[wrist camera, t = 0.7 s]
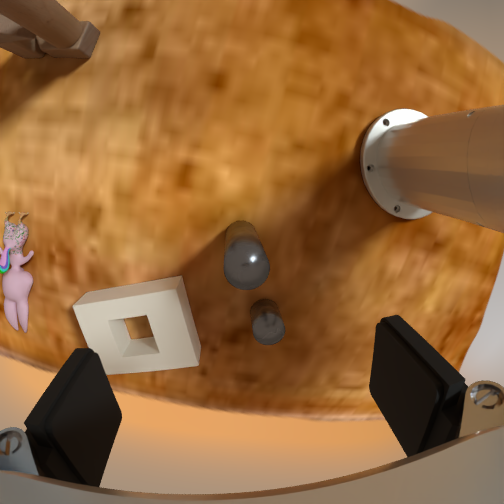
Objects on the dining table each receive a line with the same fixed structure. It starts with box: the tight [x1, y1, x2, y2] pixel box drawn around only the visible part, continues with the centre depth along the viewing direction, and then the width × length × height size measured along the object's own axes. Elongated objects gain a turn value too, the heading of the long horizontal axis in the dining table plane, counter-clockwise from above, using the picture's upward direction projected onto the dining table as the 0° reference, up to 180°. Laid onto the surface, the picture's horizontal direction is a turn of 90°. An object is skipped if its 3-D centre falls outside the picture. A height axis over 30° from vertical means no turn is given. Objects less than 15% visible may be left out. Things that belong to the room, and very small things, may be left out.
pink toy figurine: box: [0, 212, 34, 333], centre depth 29 cm, size 6×6×15 cm
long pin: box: [224, 221, 270, 290], centre depth 27 cm, size 3×3×11 cm
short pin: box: [250, 299, 285, 345], centre depth 33 cm, size 3×3×4 cm
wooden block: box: [0, 0, 100, 58], centre depth 17 cm, size 4×11×18 cm, turn 75°
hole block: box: [73, 275, 201, 375], centre depth 32 cm, size 12×9×4 cm
